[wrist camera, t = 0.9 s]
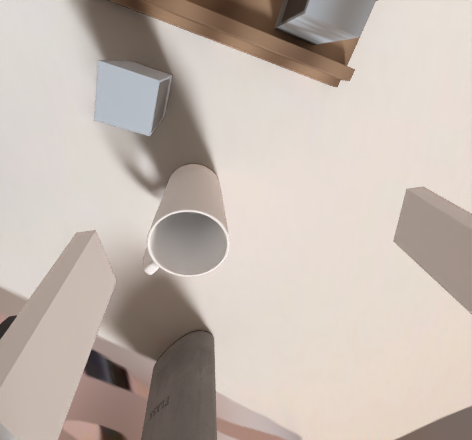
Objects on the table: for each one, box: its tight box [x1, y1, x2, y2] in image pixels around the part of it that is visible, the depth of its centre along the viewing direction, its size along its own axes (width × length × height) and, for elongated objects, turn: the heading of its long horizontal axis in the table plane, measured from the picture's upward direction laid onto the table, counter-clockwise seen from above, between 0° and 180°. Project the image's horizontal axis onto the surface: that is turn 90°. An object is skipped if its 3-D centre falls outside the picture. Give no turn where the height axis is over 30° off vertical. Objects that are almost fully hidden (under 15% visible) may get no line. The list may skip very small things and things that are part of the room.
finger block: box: [94, 60, 173, 136], centre depth 24 cm, size 4×4×9 cm
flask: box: [141, 331, 217, 440], centre depth 40 cm, size 15×6×20 cm, turn 141°
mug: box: [143, 164, 230, 277], centre depth 28 cm, size 10×7×12 cm, turn 130°
